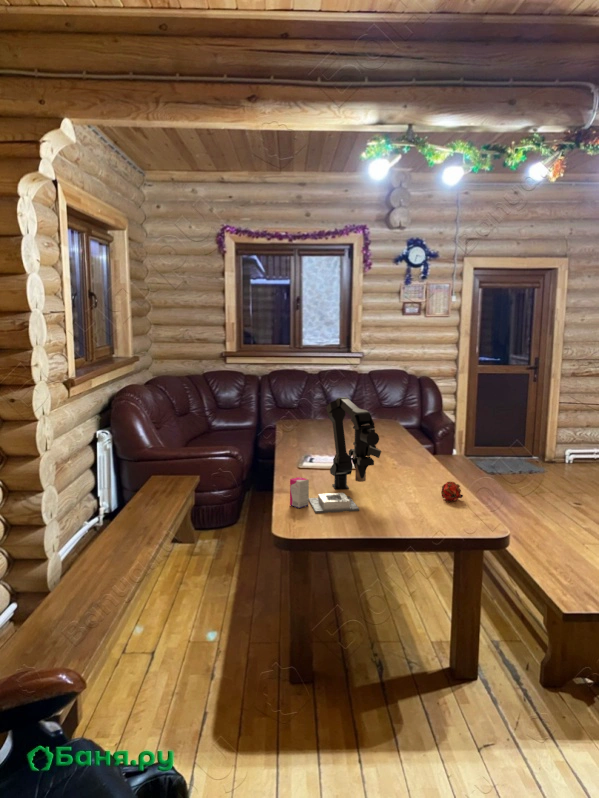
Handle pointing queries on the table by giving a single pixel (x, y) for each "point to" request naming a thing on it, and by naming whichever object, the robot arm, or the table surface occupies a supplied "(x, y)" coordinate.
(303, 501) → the supplement box
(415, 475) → the table surface
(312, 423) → the table surface
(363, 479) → the walnut dowel
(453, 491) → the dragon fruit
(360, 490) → the table surface
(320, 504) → the jig
